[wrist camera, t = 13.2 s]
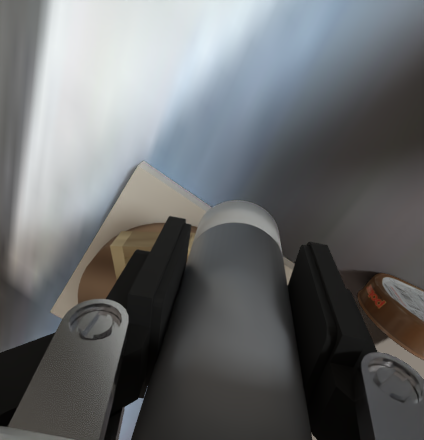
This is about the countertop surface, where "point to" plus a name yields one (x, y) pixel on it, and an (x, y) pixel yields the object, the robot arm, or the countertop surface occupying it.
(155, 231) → the dial
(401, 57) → the countertop surface
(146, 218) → the dial base
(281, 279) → the grey rounded cylinder
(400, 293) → the tin
